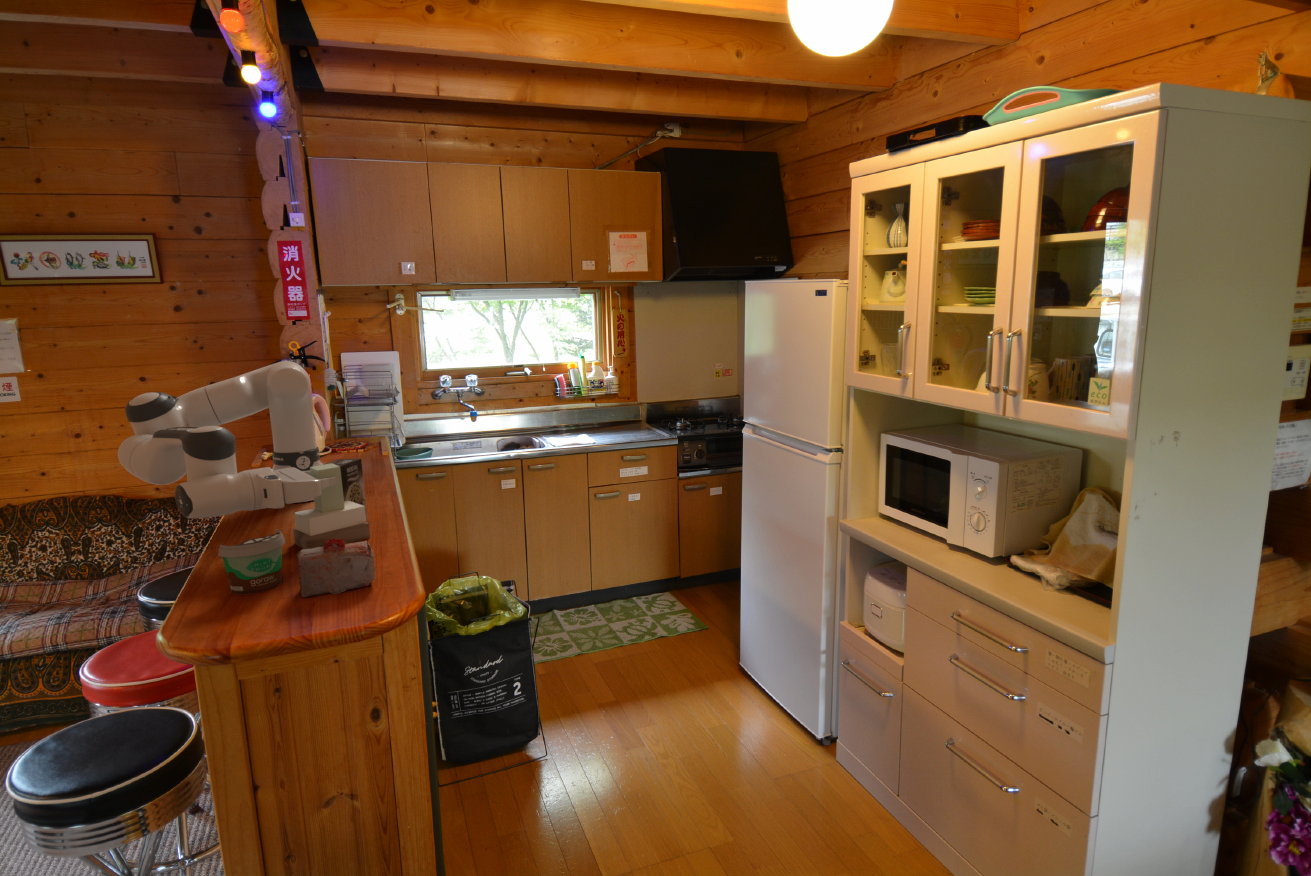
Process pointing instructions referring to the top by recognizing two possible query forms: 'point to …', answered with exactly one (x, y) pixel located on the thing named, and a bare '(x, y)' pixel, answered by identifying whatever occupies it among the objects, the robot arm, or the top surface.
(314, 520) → the white slab
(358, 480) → the coffee box
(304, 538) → the walnut slab
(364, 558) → the food item
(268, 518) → the top surface
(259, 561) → the food container
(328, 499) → the green block
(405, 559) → the top surface
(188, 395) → the robot arm
